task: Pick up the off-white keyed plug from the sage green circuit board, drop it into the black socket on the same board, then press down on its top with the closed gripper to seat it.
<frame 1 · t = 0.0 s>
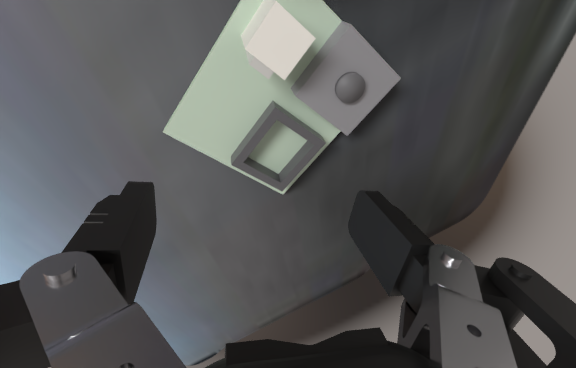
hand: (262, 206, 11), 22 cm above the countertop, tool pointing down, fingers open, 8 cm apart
plug: (270, 31, 26), point 1 cm above the countertop, touching circuit board
header socket: (277, 139, 35), resting on circuit board
circuit board: (277, 99, 32), on the countertop
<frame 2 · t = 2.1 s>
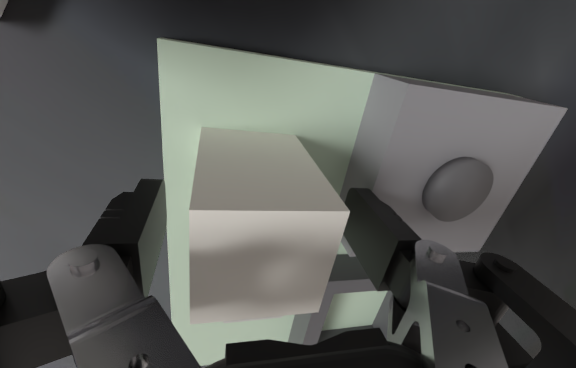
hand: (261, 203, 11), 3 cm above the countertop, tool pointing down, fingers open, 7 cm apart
plug: (246, 173, 13), point 1 cm above the countertop, touching circuit board
header socket: (345, 283, 20), resting on circuit board
circuit board: (318, 241, 17), on the countertop
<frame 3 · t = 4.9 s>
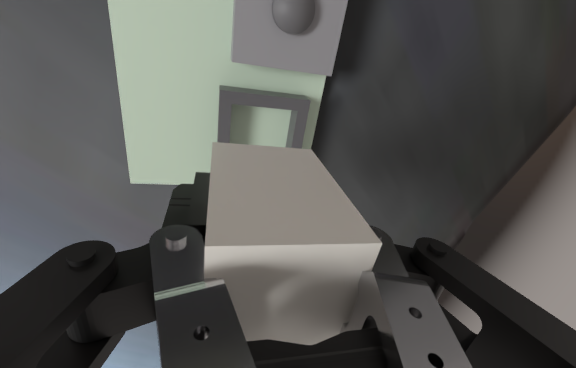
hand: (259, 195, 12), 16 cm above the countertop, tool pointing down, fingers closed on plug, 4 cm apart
plug: (258, 189, 12), point 16 cm above the countertop, touching gripper
header socket: (257, 128, 27), resting on circuit board
circuit board: (228, 81, 24), on the countertop
when the fingers open (4 cm above the countertop, at t = 7.1 s): plug drops 2 cm, resting on circuit board.
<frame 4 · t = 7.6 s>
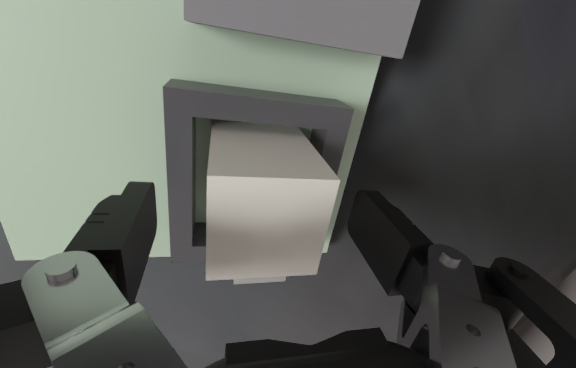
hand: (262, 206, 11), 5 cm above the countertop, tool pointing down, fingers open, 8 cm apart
plug: (252, 159, 14), point 1 cm above the countertop, touching circuit board
header socket: (250, 158, 15), resting on circuit board
circuit board: (193, 73, 13), on the countertop
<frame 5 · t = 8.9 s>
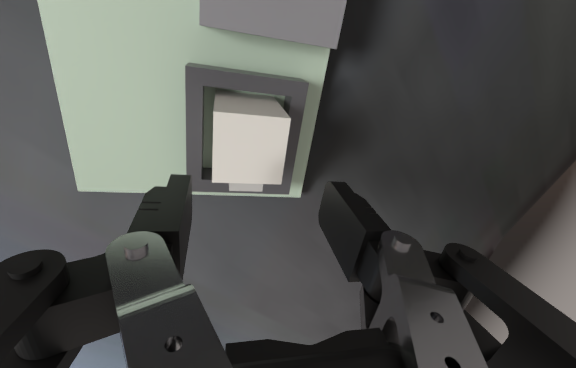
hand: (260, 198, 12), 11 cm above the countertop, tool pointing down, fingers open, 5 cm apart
plug: (243, 121, 20), point 1 cm above the countertop, touching circuit board
header socket: (242, 121, 21), resting on circuit board
circuit board: (202, 59, 19), on the countertop
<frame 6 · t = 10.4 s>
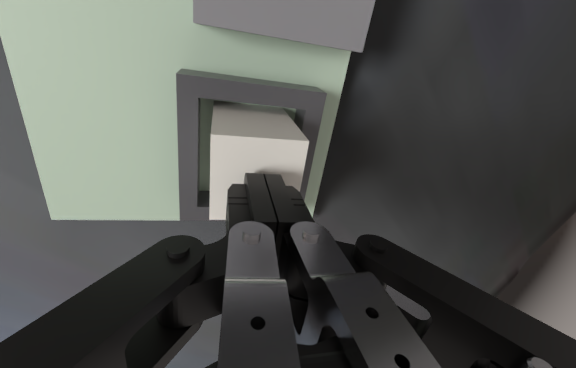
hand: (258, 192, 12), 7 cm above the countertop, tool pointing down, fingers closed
plug: (246, 136, 17), point 1 cm above the countertop, touching circuit board
header socket: (245, 136, 18), resting on circuit board
circuit board: (198, 64, 16), on the countertop
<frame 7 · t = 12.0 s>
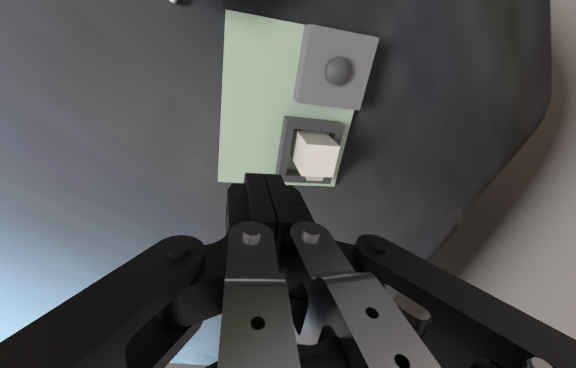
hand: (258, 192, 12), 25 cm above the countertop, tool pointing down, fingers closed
plug: (307, 143, 38), point 1 cm above the countertop, touching circuit board
header socket: (305, 143, 39), resting on circuit board
circuit board: (288, 112, 36), on the countertop
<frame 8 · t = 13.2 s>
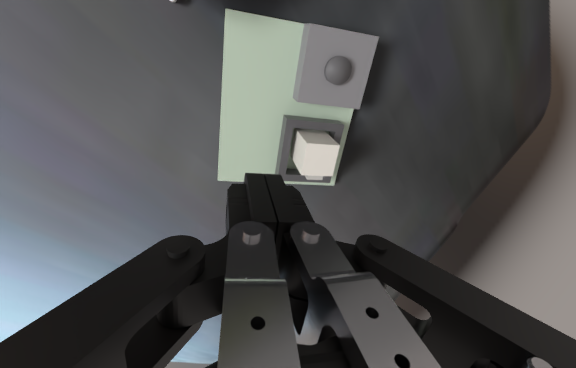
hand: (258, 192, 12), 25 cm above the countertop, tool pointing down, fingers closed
plug: (306, 142, 38), point 1 cm above the countertop, touching circuit board
header socket: (304, 142, 39), resting on circuit board
circuit board: (288, 111, 36), on the countertop
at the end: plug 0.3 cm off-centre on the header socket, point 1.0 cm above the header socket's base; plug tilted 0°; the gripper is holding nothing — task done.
